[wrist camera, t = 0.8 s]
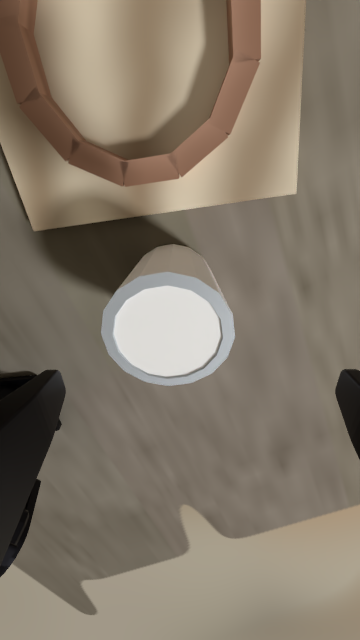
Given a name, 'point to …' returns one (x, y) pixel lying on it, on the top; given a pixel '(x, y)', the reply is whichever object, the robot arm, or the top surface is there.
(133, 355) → the white cylinder
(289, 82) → the collar board
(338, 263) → the top surface
